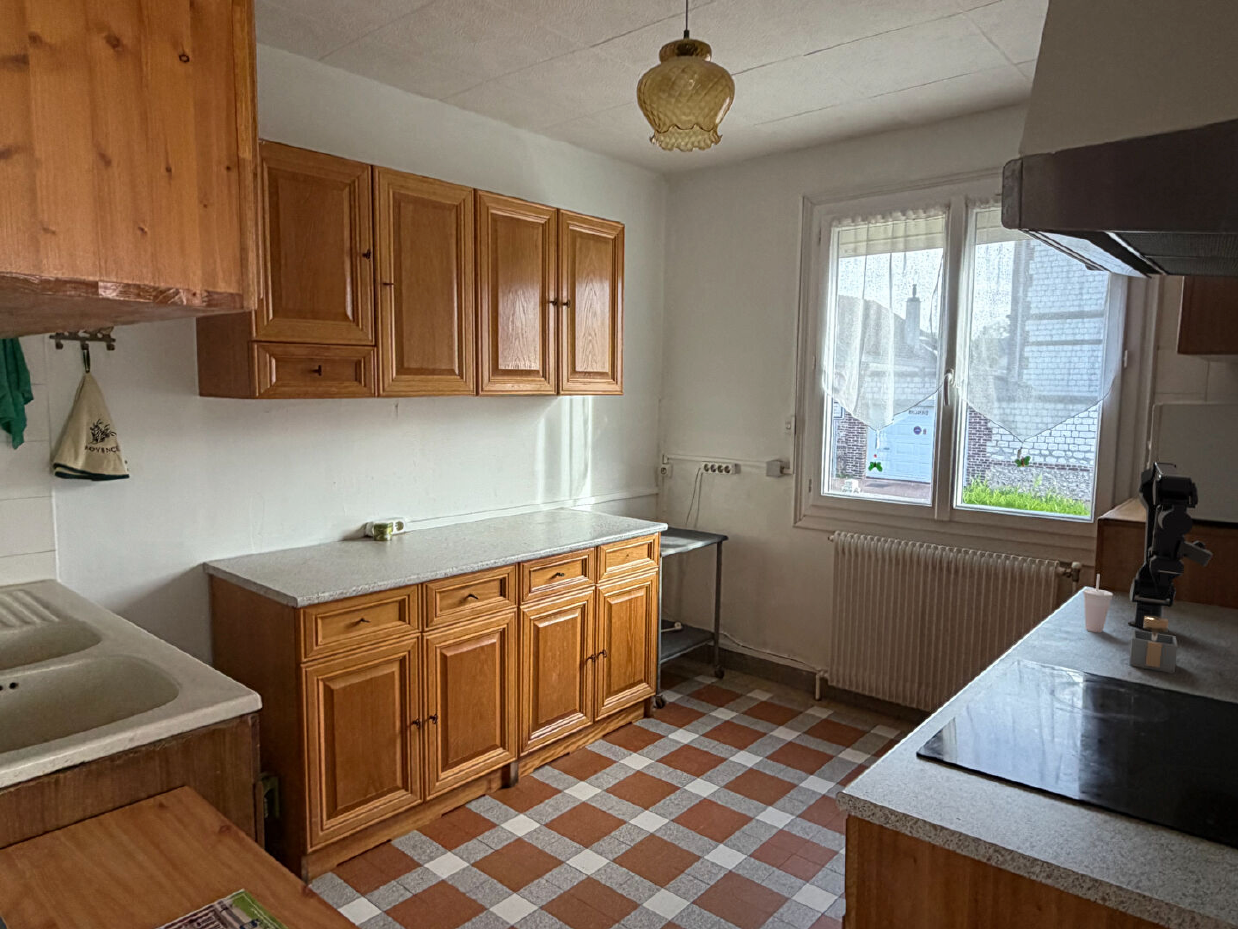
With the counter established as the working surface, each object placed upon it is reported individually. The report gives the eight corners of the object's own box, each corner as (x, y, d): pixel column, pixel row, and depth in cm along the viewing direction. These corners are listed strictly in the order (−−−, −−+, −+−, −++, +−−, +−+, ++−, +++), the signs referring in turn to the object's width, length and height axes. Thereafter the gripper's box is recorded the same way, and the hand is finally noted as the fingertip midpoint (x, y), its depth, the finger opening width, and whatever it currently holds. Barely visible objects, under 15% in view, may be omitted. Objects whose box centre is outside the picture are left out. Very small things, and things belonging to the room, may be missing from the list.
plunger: (1134, 652, 179) (1139, 612, 178) (1168, 658, 176) (1172, 618, 175) (1135, 660, 174) (1139, 619, 173) (1169, 666, 171) (1174, 625, 170)
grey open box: (1129, 655, 181) (1132, 629, 180) (1172, 662, 176) (1175, 636, 176) (1129, 666, 173) (1132, 639, 172) (1174, 675, 169) (1177, 647, 168)
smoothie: (1101, 626, 201) (1107, 572, 200) (1114, 635, 195) (1120, 578, 194) (1074, 625, 202) (1080, 570, 200) (1086, 633, 196) (1092, 577, 194)
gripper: (1215, 540, 174) (1207, 610, 175) (1208, 528, 189) (1200, 592, 191) (1154, 533, 179) (1146, 601, 181) (1151, 522, 195) (1144, 584, 197)
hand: (1161, 594), depth 187 cm, fingers open, 9 cm apart
